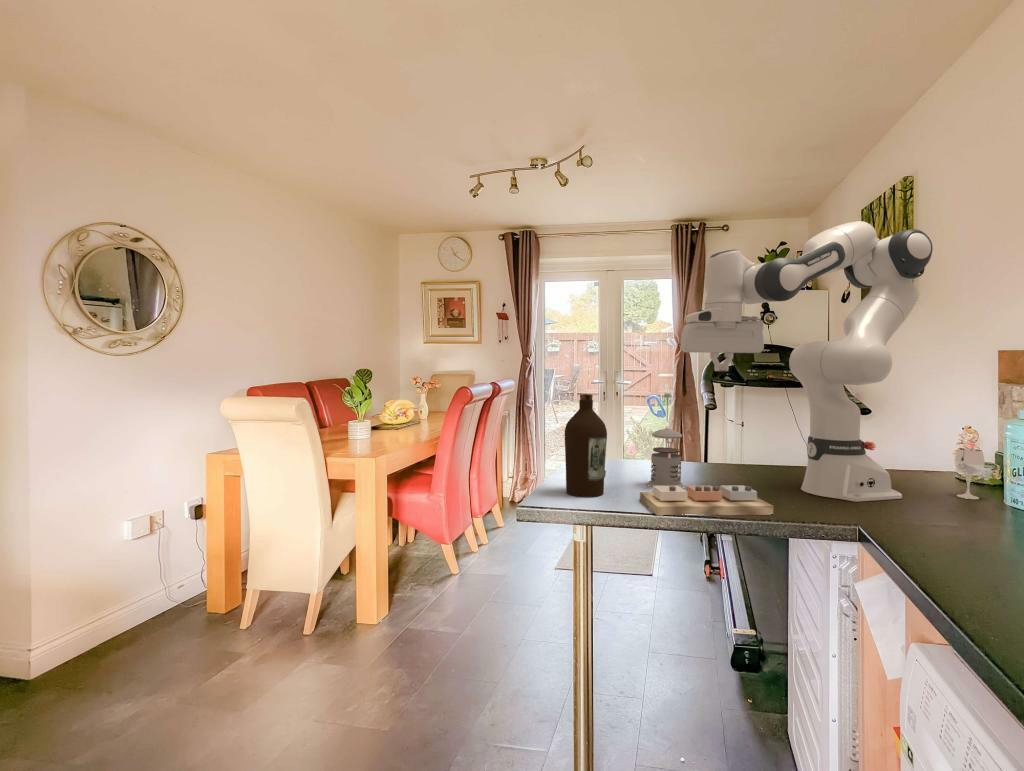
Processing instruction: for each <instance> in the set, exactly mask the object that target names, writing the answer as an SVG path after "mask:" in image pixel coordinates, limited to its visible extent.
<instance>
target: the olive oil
mask: <svg viewBox="0 0 1024 771" xmlns="http://www.w3.org/2000/svg"><path fill="white" fill-rule="evenodd" d="M578 401H579V402H578V403H579V404H578V406H579V408H578V410H577V411H576V412H575V413H574V414H573V416H572V417H571V418H570V419H568V421H567V423H566V425H565V427H564V450H565V451H564V452H565V453H564V454H565V456H564V458H565V459H564V460H565V492H566V493H567V494H568V495H570V496H575V497H579V498H580V497H581V498H595V497H600V496H602V495H604V489H605V488H604V487H605V478H606V474H607V473H606V472H607V471H606V456H607V441H608V432H607V428H606V427H607V426H606V424H605V423H604V421H603V420H602V418H600V416H599V415H598V414H597V413H596V412H595V411H594V408H593V407H594V406H593V405H594V400H593V394H591V393H580V394H579V400H578Z"/></svg>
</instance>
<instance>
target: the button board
mask: <svg viewBox="0 0 1024 771" xmlns="http://www.w3.org/2000/svg"><path fill="white" fill-rule="evenodd" d="M639 501H640V502H641V501H642V502H643V503H644V504H643V505H645V506H646V508H648V509H649V508H650V509H651V510H652V511H653V512H654V513H655V516H660V517H661V516H663V515H678V516H686V515H685V514H709V515H708V516H772V515H771V514H773V515H774V505H773V504H770V503H768V501H765V500H762V499H761V498H759V497H757V500H729V499H728V498H726V497H724V496H722V500H709V501H696V500H694V499H693V498H691V497H690V496H688V495H687V501H661V500H659V499H658V498H657V497H656V496H654V495H653V491H640V493H639ZM642 502H641V503H642ZM650 509H649V510H650ZM651 510H650V511H651ZM652 511H651V512H652ZM653 512H652V513H653ZM654 513H653V514H654ZM682 514H683V515H682ZM710 514H711V515H710ZM717 514H718V515H717Z"/></svg>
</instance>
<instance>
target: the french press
mask: <svg viewBox="0 0 1024 771" xmlns="http://www.w3.org/2000/svg"><path fill="white" fill-rule="evenodd" d="M663 398H666V421H668V415H669V412H668V411H669V409H668V407H669V406H668V405H669V398H672V394H671V393H670V392H665V393H664V395H663ZM651 436H652V437H654V438H658V439H665V446H664V447H663V446H662V447H661V446H659V447H654V448H652V451H653V453H651V457H650V458H651V460H650V461H651V464H650V465H651V466H650V469H651V470H650V480H649V481H648V482H647V483H648V484H647V486H648V485H649V486H648V487H650V486H651V488H653V486H679V487H681V488H683V487H684V488H685V485H684V484H683V482H682V471H681V470H682V455H681V454H679V453H681V449H679V448H676V442H675V439H681V438H682V437H683V436H684V435H683V434H682V433H680V432H679V431H677V430H674V429H671V428H668V427H665V428H663V429H662V428H661V429H658V430H655V431H654V432H652V433H651ZM669 440H672V441H671V442H669ZM670 444H673V447H670ZM669 456H670V457H669ZM684 488H683V489H684Z"/></svg>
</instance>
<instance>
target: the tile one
mask: <svg viewBox="0 0 1024 771" xmlns="http://www.w3.org/2000/svg"><path fill="white" fill-rule="evenodd" d="M652 492H653V495H654V496H656V497H657V498H658V499H659V500H661V501H687V491H686V489H684V488H681V487H679V486H653V487H652Z"/></svg>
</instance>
